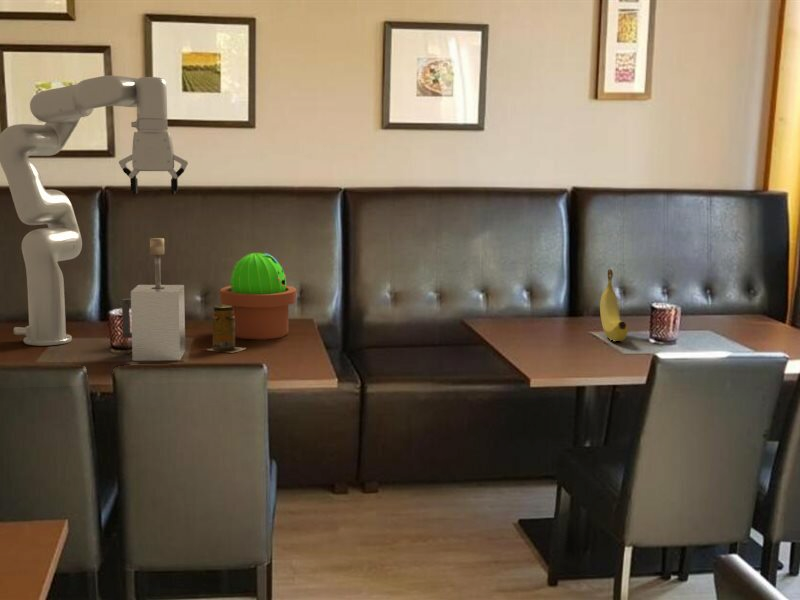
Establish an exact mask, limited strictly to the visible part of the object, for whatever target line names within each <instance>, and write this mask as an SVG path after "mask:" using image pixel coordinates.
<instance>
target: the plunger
mask: <svg viewBox="0 0 800 600" xmlns="http://www.w3.org/2000/svg"><path fill="white" fill-rule="evenodd" d="M149 251H150V252H149V254H150V255H153V256H154V278H155V279H154V280H155V281H154V282H155V283H154V285H155V289H161V285H162V282H161V280H162V279H161V272H162V271H161V255H165V238H163V237H153V238H152V237H151V238H149Z"/></svg>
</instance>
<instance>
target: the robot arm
mask: <svg viewBox="0 0 800 600" xmlns="http://www.w3.org/2000/svg"><path fill="white" fill-rule="evenodd" d="M167 96H168V95H167V82H166V80H165V79H164V78H162V77H156V76H141V77H138V78H136V77H129V76H122V75H101V76H98V77H92V78H87V79H83V80H81V81H79V82H78V83H75V84H72V85H67V86H62V87H56V88H53V89H52V88H51V89H48V90H42V91H39V92H37V93H36V94H34V95H33V96H32V98H31V100H30V102H29V108H30V110H29V111H30V112H31V114H32V115H33V116H34V118H36V119H37V120H38V121H40V122H44V124H34V123H33V124H31V123H30V124H29V123H18V124H13V125H10V126H7V127H6V128H5V129H4V130H3V131H2V132H1V133H0V166H1V168H2V171H3V172H4V175H5V178H6V181H7V184H8V188H9V191H10V193H11V197H12V201H13V203H14V204H13V205H14V208H15V211H16V214H17V217H18V219H19V220H20V221H21V223H23V224H25V225H28V226H38V225H41V226H42V225H47V227H45V228H37V229H34V230H30V232H28V233H27V234H26V235H25V236H24V237H23V239H22V241H21V252H22V255H23V256H22V257H23V261H24V264H25V271H26V273H25V274H26V286H27V307H28V325H27V326H25V327H22V326H21V327H20V326H19V327H18V326H15V327H14V328H13V334H14V335H16V336H22V335H24V336H26V337H24V338H23V343H24V344H26V345H28V346H29V345H30V346H38V347H39V346H43V347H45V346H58V345H65V344H68V343H70V342H71V341H72V340H73V338H72V337H73V336H72V335H70V334H68V333H67V331H66V329H67V326H66V303H65V301H66V299H65V283H64V281H65V280H64V275H63V271H62V270H61V268H60V266H59V263H58V262H63V261H68V260H72V259H73V260H74V259H75V258H77V257H78V256H79V255H80V253H82V252H81V251H82V248H83V239H82V235H81V231H80V227H79V225H78V221H77V218H76V215H75V211H74V207H73V205H72V202H71V201H70V199H69V197H68V196H67V195H66V194H65V193H64V192H62V191H60V190H58V189H46V188H45V187H44V185H43V182H42V181H43V180H42V179H41V175H40V172H39V170H38V168H37V167H36V166H35V165H34V163H33V162H32V161H31V160H30V158H29V157H31V156H32V157H36V156H37V157H40V156H41V157H44V156H45V157H50V156H54V155H56V154H59V152H61V151H62V150H63V148H64V147H65V145H66V144H67V142H68V141H69V139H70V137H71V136H72V134H73V132H74V130H75V129H76V127H77V126H78V124H79V122H80V120H81V118H84V117H85V118H86V117H88V116H90V115H91V114H92V113H93V111H94V109H97V108H103V107H125V108H136V121H131V123H130V125H131V128H135V129H136V130H137V131H134V132H133V139H132V147H131V149H132V154H130V155H129V156H126V157H124V158H122V159H120V160H119V161H118V165H119V166H120V168H121V170H122V171H123V173H124V174H125V175H126V176H127V177H128V178H129V179H130V180H129V181H130V192H131V191H132V193H133V195H138V193H139V188H138V187H139V185H138V178H137V175H138V174H139V173H140V172H168V174H170V175H171V179H170V193H171V194H172V195H176V194H177V193H176V192H178V191H179V187H178V186H179V185H178V184H179V182H178V178H179V177H180V176H182V174H183V173H185V170H186V169H187V166H188V164H189V162H188V160H185V159H183V158H182V157H180V156H177V155H176V154H174V146H173V138H172V134H171V132H169V131H168V126H169V125H168V99H167ZM131 161H132V162H131ZM130 162H131V164H132V168H133V169H132V170H131V169H129V168H128V166H127V164H128V163H130ZM175 162H176V163H179V164H180V167H179V169H178V170H177V171H176V170H175V169H174V168H175Z"/></svg>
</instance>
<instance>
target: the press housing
mask: <svg viewBox="0 0 800 600" xmlns="http://www.w3.org/2000/svg"><path fill="white" fill-rule="evenodd" d="M130 308H131V309H130ZM130 311H131V312H130ZM121 314H122V322H121V323H122V338H126V339H131V347H132V349H131V351H132V352H131V356H132V358H131V359H132V361H133V362H134V361H135V362H137V361H139V362H141V361H144V362H145V361H147V362H149V361H181V359H182V357H183V356H184V353H186V329H185V328H186V327H185V326H186V325H185V324H186V323H185V322H186V320H185V319H186V317H185V285H184V284H161V289H155V284H138V285H136V286H135V287H134V288H133V289H132V290H131V291H130V298H122V299H121ZM130 314H131V316H130ZM130 318H131V320H130ZM130 323H131V324H130Z"/></svg>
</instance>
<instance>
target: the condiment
mask: <svg viewBox="0 0 800 600" xmlns="http://www.w3.org/2000/svg"><path fill="white" fill-rule="evenodd" d="M233 309H234V308H233V306H229V305H225V304H220V305H215V306H214V307H213V316H212V347H211V348H207V349H206V350H207V351H210V352H211V351H212V352H220V353H221V352H222V353H230V354H231V353H236V352H240V351H243V350H247V347H239V346H236V338H235V316H234V311H233Z"/></svg>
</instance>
